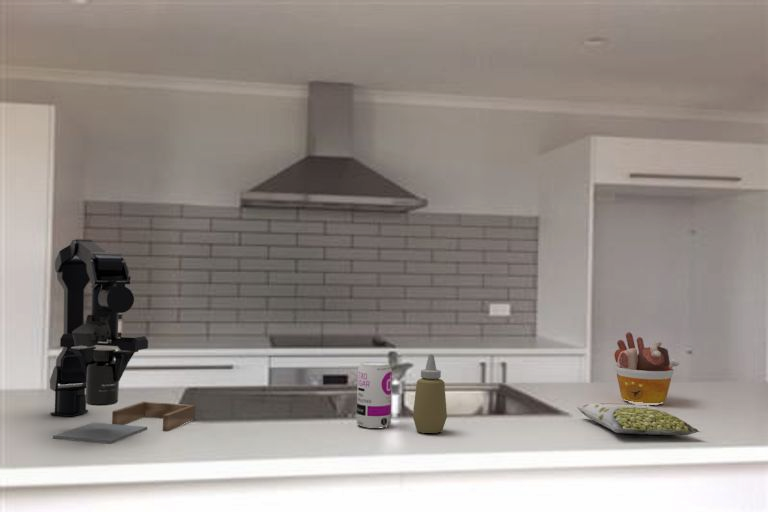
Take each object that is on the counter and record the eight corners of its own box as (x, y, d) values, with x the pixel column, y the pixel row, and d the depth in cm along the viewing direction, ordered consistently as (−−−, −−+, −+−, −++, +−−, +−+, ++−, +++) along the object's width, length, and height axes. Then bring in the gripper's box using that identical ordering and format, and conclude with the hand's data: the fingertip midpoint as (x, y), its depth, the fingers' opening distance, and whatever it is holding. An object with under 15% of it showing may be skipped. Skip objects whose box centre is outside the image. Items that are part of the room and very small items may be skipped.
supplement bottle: (107, 407, 159) (108, 351, 159) (78, 405, 160) (80, 350, 160) (124, 401, 166) (126, 348, 166) (97, 399, 167) (98, 346, 167)
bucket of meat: (687, 408, 209) (688, 338, 209) (632, 408, 206) (633, 338, 207) (651, 396, 229) (652, 332, 229) (601, 396, 226) (602, 331, 227)
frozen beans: (614, 415, 166) (574, 395, 191) (613, 441, 166) (573, 418, 191) (702, 419, 168) (651, 399, 193) (700, 444, 168) (650, 421, 193)
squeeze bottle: (450, 430, 174) (452, 354, 175) (441, 437, 167) (443, 357, 167) (417, 426, 177) (419, 352, 177) (407, 433, 169) (409, 355, 170)
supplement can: (395, 424, 179) (397, 362, 179) (381, 431, 172) (383, 366, 172) (366, 420, 183) (367, 360, 183) (350, 427, 175) (352, 364, 175)
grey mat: (52, 438, 158) (52, 435, 158) (93, 425, 171) (93, 422, 171) (110, 443, 154) (110, 440, 154) (147, 429, 168) (147, 426, 168)
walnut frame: (112, 426, 170) (112, 411, 170) (143, 415, 183) (143, 401, 183) (167, 431, 167) (167, 415, 167) (195, 419, 179) (195, 405, 179)
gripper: (43, 310, 157) (41, 383, 157) (121, 314, 153) (119, 389, 153) (77, 307, 168) (75, 375, 168) (150, 311, 164) (148, 381, 164)
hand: (102, 380), depth 163 cm, fingers closed on supplement bottle, 7 cm apart
